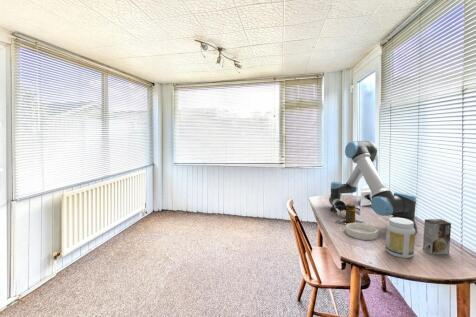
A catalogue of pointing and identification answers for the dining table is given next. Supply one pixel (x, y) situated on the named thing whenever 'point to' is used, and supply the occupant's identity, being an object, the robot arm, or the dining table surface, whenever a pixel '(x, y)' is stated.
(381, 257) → the dining table surface
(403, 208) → the robot arm
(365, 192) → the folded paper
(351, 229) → the bowl
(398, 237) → the supplement tub
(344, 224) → the grey square frame
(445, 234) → the coffee box
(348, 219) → the condiment
